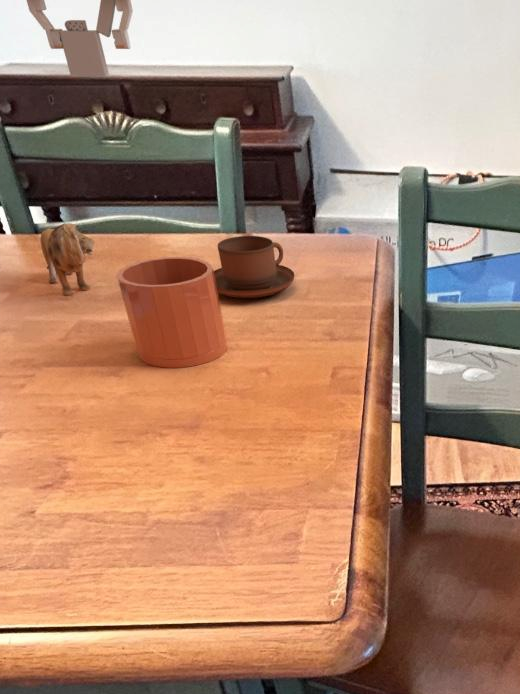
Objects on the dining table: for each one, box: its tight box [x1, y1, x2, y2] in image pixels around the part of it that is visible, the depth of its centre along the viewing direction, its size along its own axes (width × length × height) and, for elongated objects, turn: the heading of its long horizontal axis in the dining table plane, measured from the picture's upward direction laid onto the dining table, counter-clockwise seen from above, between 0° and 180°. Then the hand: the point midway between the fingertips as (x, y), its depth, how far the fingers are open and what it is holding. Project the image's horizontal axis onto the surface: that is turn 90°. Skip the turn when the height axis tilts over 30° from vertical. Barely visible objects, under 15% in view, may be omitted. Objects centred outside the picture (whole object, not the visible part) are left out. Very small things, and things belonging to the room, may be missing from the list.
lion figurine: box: [39, 222, 95, 296], centre depth 101 cm, size 15×5×9 cm, turn 45°
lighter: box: [59, 0, 116, 78], centre depth 86 cm, size 7×2×8 cm, turn 101°
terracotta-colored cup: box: [116, 256, 228, 369], centre depth 85 cm, size 10×10×9 cm
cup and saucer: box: [214, 235, 295, 299], centre depth 101 cm, size 12×12×6 cm
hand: (91, 48), depth 87 cm, fingers closed on lighter, 6 cm apart
